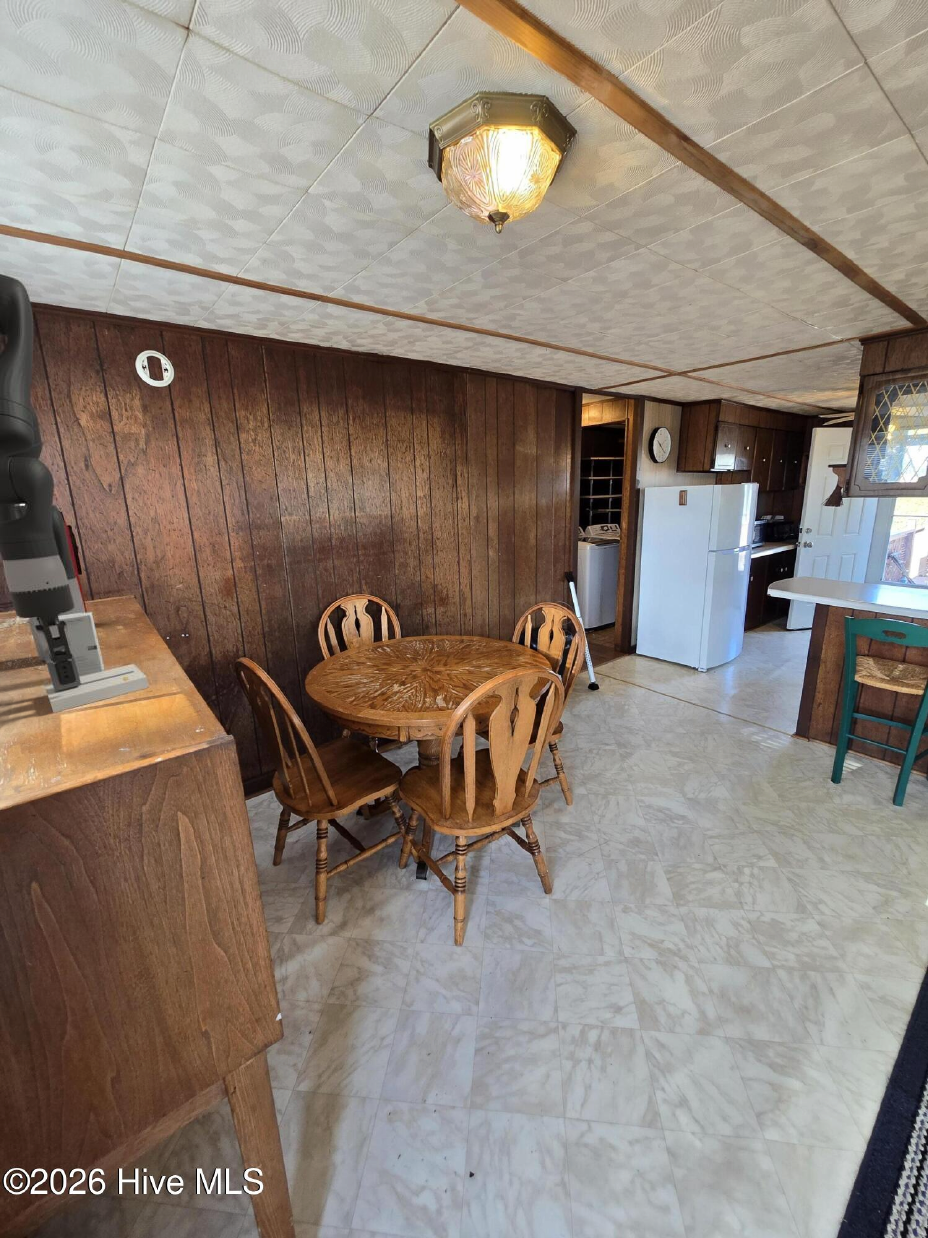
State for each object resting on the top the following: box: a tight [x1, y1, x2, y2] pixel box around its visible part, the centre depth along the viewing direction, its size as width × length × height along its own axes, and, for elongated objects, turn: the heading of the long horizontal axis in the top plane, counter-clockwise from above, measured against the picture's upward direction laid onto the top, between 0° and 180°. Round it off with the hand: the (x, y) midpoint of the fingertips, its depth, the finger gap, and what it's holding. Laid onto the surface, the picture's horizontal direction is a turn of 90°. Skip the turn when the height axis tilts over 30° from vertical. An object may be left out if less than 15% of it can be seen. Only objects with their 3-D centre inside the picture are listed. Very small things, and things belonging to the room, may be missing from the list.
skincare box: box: [58, 611, 105, 677], centre depth 97 cm, size 6×4×12 cm
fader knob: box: [44, 655, 81, 691], centre depth 85 cm, size 4×3×5 cm
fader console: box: [44, 663, 150, 714], centre depth 88 cm, size 14×11×2 cm
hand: (65, 677), depth 85 cm, fingers open, 8 cm apart
